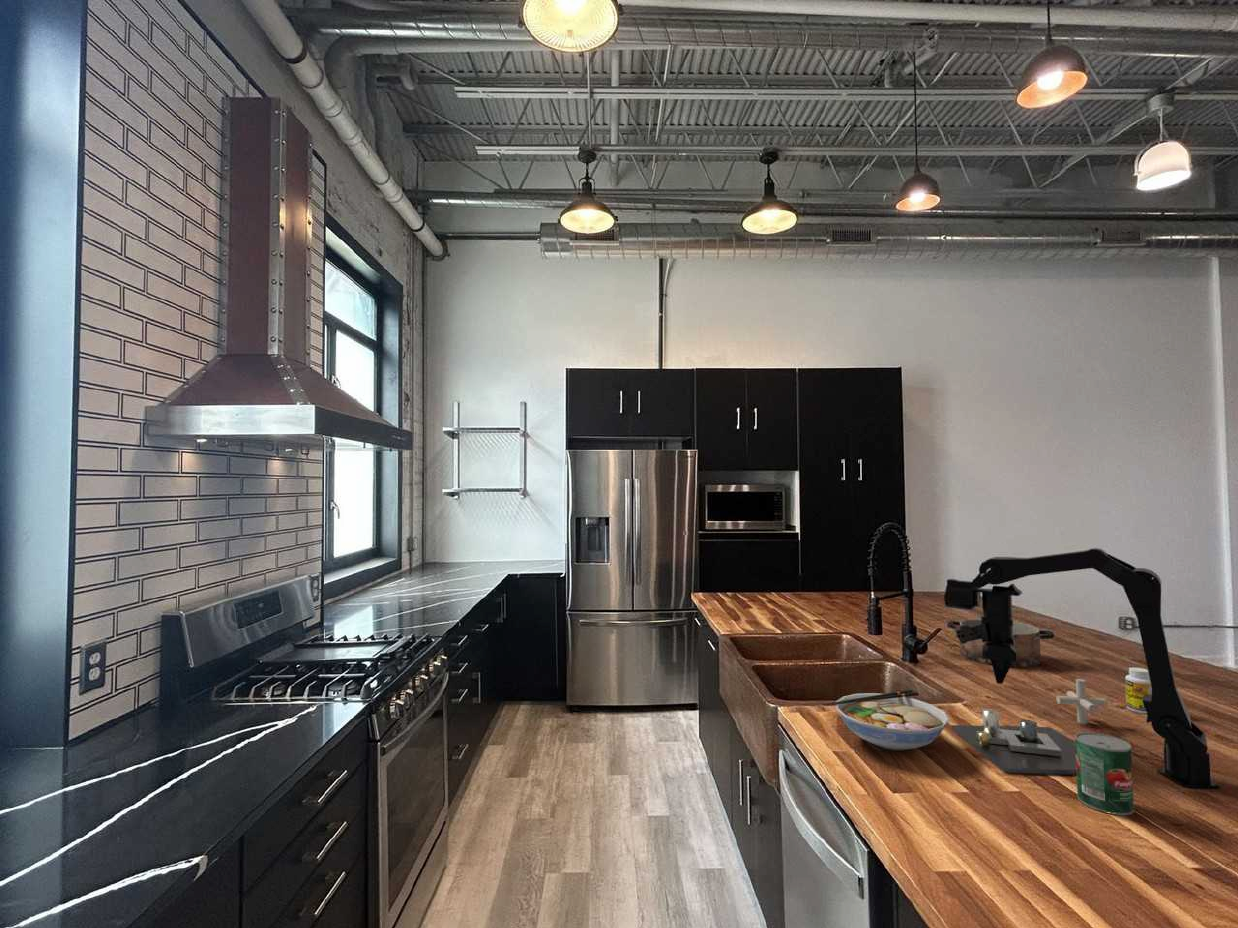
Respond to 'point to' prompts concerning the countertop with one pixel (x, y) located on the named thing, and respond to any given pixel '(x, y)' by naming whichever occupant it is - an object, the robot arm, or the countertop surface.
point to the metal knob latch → (1016, 737)
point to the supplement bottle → (1137, 689)
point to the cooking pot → (1024, 644)
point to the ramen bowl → (892, 719)
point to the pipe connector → (1081, 701)
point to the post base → (1022, 760)
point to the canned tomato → (1104, 773)
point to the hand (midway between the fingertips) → (999, 683)
